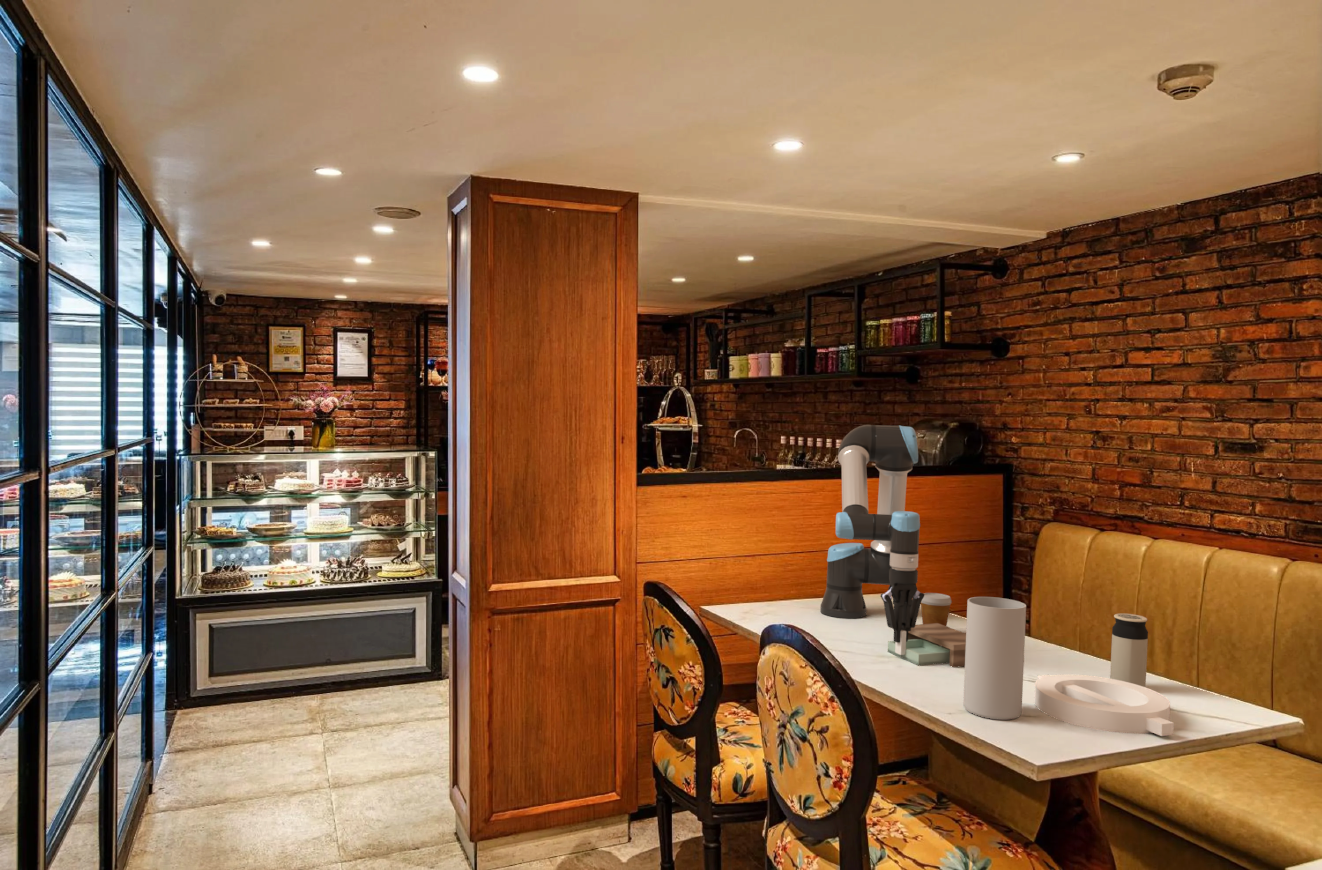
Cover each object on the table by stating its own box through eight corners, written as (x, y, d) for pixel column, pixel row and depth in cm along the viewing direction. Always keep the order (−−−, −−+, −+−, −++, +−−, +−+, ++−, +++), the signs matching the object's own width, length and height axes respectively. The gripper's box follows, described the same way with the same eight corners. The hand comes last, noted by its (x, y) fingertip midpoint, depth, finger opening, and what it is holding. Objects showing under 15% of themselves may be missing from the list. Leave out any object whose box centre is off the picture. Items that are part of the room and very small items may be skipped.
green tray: (887, 651, 256) (887, 641, 255) (922, 649, 260) (923, 638, 260) (918, 665, 242) (918, 654, 242) (955, 662, 247) (955, 651, 247)
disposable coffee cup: (946, 631, 282) (948, 593, 281) (953, 639, 272) (955, 599, 272) (915, 630, 282) (916, 591, 282) (921, 637, 273) (922, 598, 273)
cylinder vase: (974, 698, 215) (979, 594, 215) (1028, 711, 207) (1033, 602, 207) (954, 711, 206) (959, 602, 205) (1010, 725, 198) (1015, 611, 197)
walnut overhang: (902, 646, 262) (903, 625, 262) (936, 643, 267) (937, 623, 267) (953, 667, 242) (953, 645, 242) (989, 663, 246) (989, 642, 246)
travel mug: (1126, 693, 223) (1129, 621, 223) (1102, 683, 231) (1105, 613, 230) (1152, 691, 225) (1156, 619, 225) (1128, 682, 233) (1131, 612, 233)
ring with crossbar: (1174, 743, 191) (1175, 721, 190) (1031, 720, 202) (1032, 699, 202) (1163, 705, 216) (1164, 685, 216) (1036, 687, 228) (1037, 668, 228)
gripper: (891, 571, 242) (888, 658, 243) (931, 569, 247) (928, 655, 248) (875, 566, 249) (872, 651, 250) (915, 565, 254) (911, 648, 255)
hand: (900, 653), depth 249 cm, fingers closed
